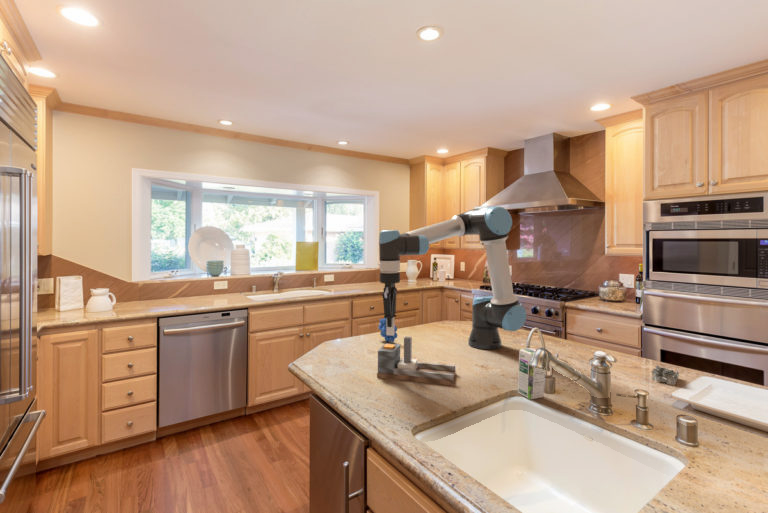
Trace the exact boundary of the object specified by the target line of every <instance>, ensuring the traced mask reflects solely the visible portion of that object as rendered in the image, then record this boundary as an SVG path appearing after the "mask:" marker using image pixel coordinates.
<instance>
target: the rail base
mask: <svg viewBox="0 0 768 513" xmlns="http://www.w3.org/2000/svg"><path fill="white" fill-rule="evenodd" d="M386 344H388V342H387V343H384V344H382V345H381V347H380V348H379V349H377V372H376V378H381V379H388V380H389V379H390V380H397V381H398V380H399V381H409V382H416V383H417V382H418V383H425V384H426V383H427V384H435V385H436V384H437V385H446V386H454V381H455V377H456V372H457V371H456V365H453V364H443V363H431V362H423V361H422V362H421V361H417V369H416V370H408V369H398V363H399V361H400V360H401V344H400V343H398V344H396V343H391V344H392V345H395V348H394V349H383V347H384V346H385V345H386Z"/></svg>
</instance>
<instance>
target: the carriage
mask: <svg viewBox="0 0 768 513" xmlns="http://www.w3.org/2000/svg"><path fill="white" fill-rule="evenodd" d="M412 339H413V338H412V336H404V337H403V357H402V358H400V361H399V363H398V369H408V370H416V369H417V362H418V359H417V358H415V359H414V358H412V356H413V355H412V352H413V350H412V348H413V345H412V344H413V342H412V341H413V340H412Z"/></svg>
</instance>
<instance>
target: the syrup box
mask: <svg viewBox="0 0 768 513" xmlns="http://www.w3.org/2000/svg"><path fill="white" fill-rule="evenodd" d="M536 350H537V349H534V348H531V347H529V348H522V349H519V351H518V352H519V353H518V354H519V355H518V380H517V381H518V383H517V384H518V386H517V393H518V394H520V395H521V396H523V397H525V398H526V399H527V400H536V399H540V398H544V389H545V388H544V387H545V369H544V370H543V369H539V368H535V367H532V366H530V364H529V363H530V360H531V358H532V356H533V354H534V353H535V351H536Z"/></svg>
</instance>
